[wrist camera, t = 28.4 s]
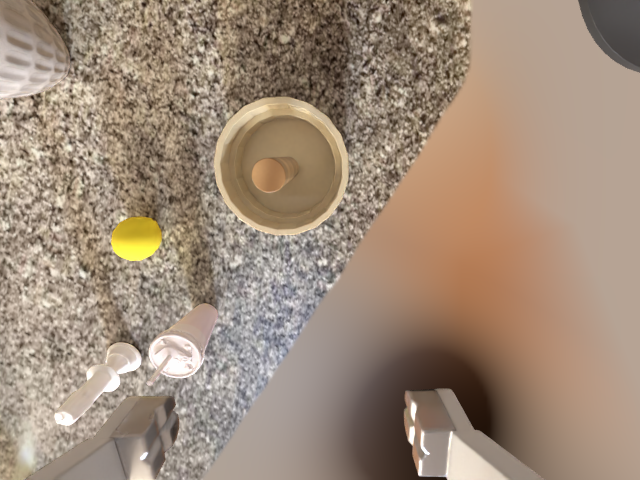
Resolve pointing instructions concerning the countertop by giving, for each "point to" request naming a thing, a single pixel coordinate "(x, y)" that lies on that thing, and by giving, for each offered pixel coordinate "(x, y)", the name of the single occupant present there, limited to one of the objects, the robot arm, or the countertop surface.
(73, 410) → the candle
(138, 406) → the robot arm
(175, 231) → the countertop surface
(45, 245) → the countertop surface
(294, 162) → the stick
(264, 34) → the countertop surface
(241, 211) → the bowl
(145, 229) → the lemon
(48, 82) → the vase
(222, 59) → the countertop surface
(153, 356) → the smoothie
